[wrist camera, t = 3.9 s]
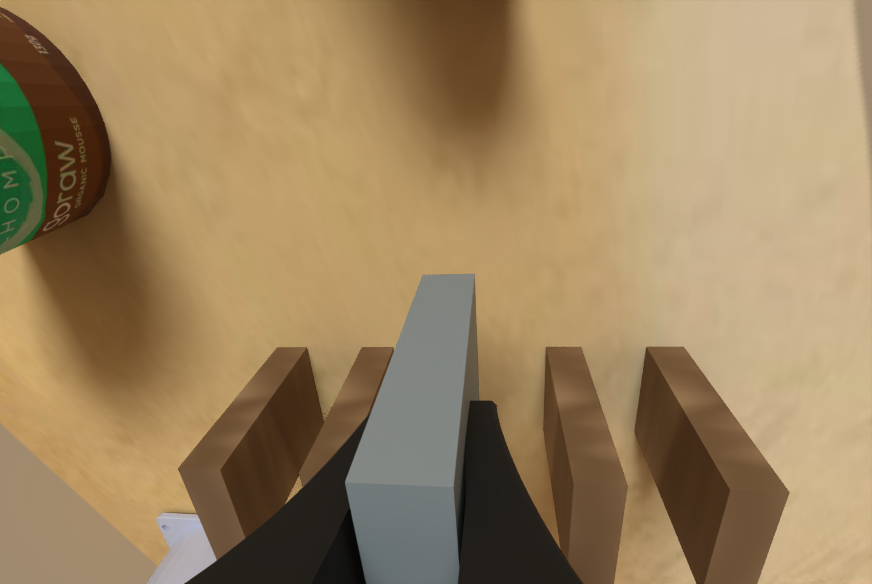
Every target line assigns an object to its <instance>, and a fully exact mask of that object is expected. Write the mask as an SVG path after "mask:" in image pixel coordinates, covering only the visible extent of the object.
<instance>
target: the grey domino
mask: <svg viewBox="0 0 872 584" xmlns="http://www.w3.org/2000/svg"><path fill="white" fill-rule="evenodd" d="M470 401H479V380H478V352H477V325H476V298H475V274H442V275H423V276H422V278H421V281H420V284H419V286H418V289H417V292H416V294H415V297H414V300H413V302H412V305H411V308H410V310H409V313H408V316H407V318H406V321H405V324H404V326H403V329H402V332H401V334H400V337H399V340H398V342H397V345H396V348H395V350H394V353H393V355H392V358H391V361H390V363H389V366H388V369H387V371H386V374H385V377H384V379H383V382H382V385H381V387H380V390H379V393H378V395H377V398H376V401H375V403H374V406H373V409H372V411H371V414H370V417H369V419H368V422H367V425H366V427H365V430H364V433H363V435H362V438H361V441H360V443H359V446H358V449H357V451H356V454H355V457H354V459H353V462H352V465H351V467H350V470H349V473H348V475H347V478H346V481H345V485H346V490H347V495H348V500H349V504H350V509H351V514H352V519H353V524H354V528H355V533H356V538H357V543H358V547H359V552H360V557H361V562H362V567H363V571H364V576H365V581H366V584H458V576H459V566H460V557H461V547H462V537H463V526H464V515H465V502H466V481H465V455H464V449H465V440H466V430H467V421H468V413H469V406H470Z"/></svg>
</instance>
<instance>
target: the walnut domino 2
mask: <svg viewBox="0 0 872 584" xmlns="http://www.w3.org/2000/svg"><path fill="white" fill-rule="evenodd" d="M393 353H394V350H393V347H362V348H361V350H360V352H359V354H358V356H357V358H356V360H355V362H354V364H353V366H352V368H351V370H350V372H349V374H348V376H347V378H346V380H345V382H344V384H343V386H342V388H341V390H340V392H339V394H338V396H337V398H336V400H335V402H334V404H333V406H332V408H331V410H330V412H329V414H328V416H327V418H326V420H325V422H324V424H323V426H322V428H321V430H320V432H319V434H318V436H317V438H316V440H315V442H314V444H313V446H312V448H311V450H310V452H309V454H308V456H307V458H306V460H305V462H304V464H303V466H302V468H301V470H300V472H299V475H300V479H301V483H302V486H303V487H304V486H305V485H306V484H307V483H308V482H309V481H310V479H311V478H312V477H313V476H314V475H315V474H316V473H317V472H318V471H319V470H320V469H321V468H322V467H323V466H324V465H325V464H326V463H327V462H328V461H329V460H330V459H331V457H332V456H333V455H334V454H335V453H336V452H337V451H338V450H339V448H340V447H341V446H342V445H343V444H344V443H345V442H346V440H347V439H348V438H349V437H350V436H351V435H352V433H353V432H354V431H355V430H356V429H357V427H358V426H359V425H360V424H361V423H362V421H363V420H364V419H365V418H366V417H367V415H368V414H369V413H370V412H371V410H372V409H373V406H374V403H375V401H376V398H377V395H378V393H379V390H380V387H381V385H382V382H383V379H384V377H385V374H386V371H387V369H388V366H389V363H390V361H391V358H392V355H393Z"/></svg>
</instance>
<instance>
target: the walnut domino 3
mask: <svg viewBox="0 0 872 584" xmlns="http://www.w3.org/2000/svg"><path fill="white" fill-rule="evenodd" d="M543 430H544V437H545V444H546V451H547V458H548V465H549V471H550V478H551V485H552V492H553V499H554V506H555V513H556V520H557V526H558V533H559V540H560V547H561V551H562V553H563V554H564V556H565V557H566V559H567V561H568V562H569V564H570V565H571V567H572V568H573V570H574V571H575V572H576V574H577V575H578V577H579V578H580V579H581V581H582V582H583V584H614V578H615V571H616V564H617V557H618V550H619V543H620V536H621V529H622V522H623V515H624V508H625V501H626V494H627V487H628V485H627V482H626V479H625V476H624V473H623V470H622V467H621V464H620V461H619V458H618V455H617V452H616V449H615V446H614V443H613V440H612V437H611V434H610V431H609V428H608V425H607V422H606V420H605V417H604V414H603V411H602V408H601V405H600V402H599V399H598V396H597V393H596V390H595V387H594V384H593V381H592V378H591V375H590V372H589V369H588V366H587V363H586V360H585V357H584V354H583V351H582V348H581V347H546V366H545V397H544V427H543Z"/></svg>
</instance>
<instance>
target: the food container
mask: <svg viewBox="0 0 872 584" xmlns="http://www.w3.org/2000/svg"><path fill="white" fill-rule="evenodd" d="M109 175H110V149H109V141H108V137H107V133H106V128H105V124H104V122H103V119H102V116H101V114H100V111H99V109H98V106H97V104H96V102H95V100H94V98H93V96H92V95H91V93H90V91H89V89H88V87H87V85H86V84H85V82H84V81H83V79H82V78H81V76H80V75H79V73H78V72H77V71H76V69H75V68H74V66H73V65H72V64H71V63H70V62H69V61H68V59H67V58H66V57H65V56H64V55H63V53H62V52H61V51H60V50H59V49H58V48H57V47H56V46H55V45H54V44H53V43H52V42H51V41H50V40H49V39H47V38H46V37H45V36H44V35H43V34H42V33H41V32H39V31H38V30H37V29H35V28H34V27H33V26H31V25H30V24H29V23H28V22H26V21H25V20H23V19H21V18H20V17H18V16H16V15H15V14H13V13H11V12H10V11H8V10H6V9H4V8H1V7H0V254H2V253H5V252H7V251H9V250H11V249H13V248H16V247H18V246H20V245H22V244H24V243H27V242H29V241H31V240H33V239H35V238H38V237H40V236H42V235H44V234H46V233H49V232H51V231H53V230H55V229H57V228H60V227H62V226H64V225H66V224H68V223H71V222H73V221H75V220H77V219H79V218H82V217H84V216H86V215H88V214H89V212H90V211H91V210H92V209H93V207H94V206H95V205H96V204H97V203H98V201H99V200H100V199H101V198H102V197H103V195H104V192H105V188H106V185H107V182H108V178H109Z"/></svg>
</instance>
